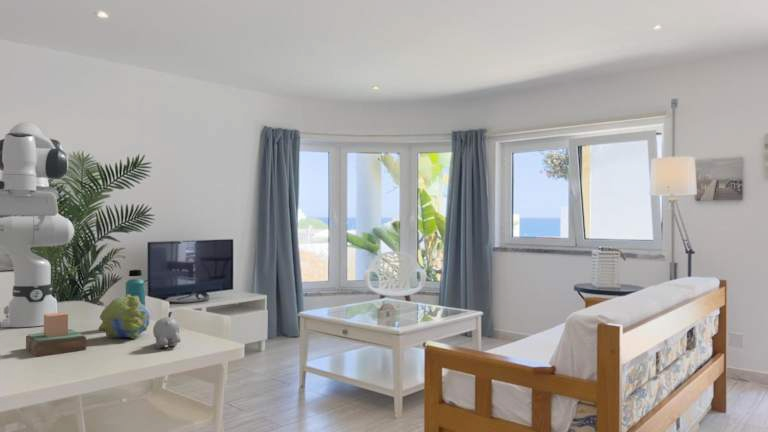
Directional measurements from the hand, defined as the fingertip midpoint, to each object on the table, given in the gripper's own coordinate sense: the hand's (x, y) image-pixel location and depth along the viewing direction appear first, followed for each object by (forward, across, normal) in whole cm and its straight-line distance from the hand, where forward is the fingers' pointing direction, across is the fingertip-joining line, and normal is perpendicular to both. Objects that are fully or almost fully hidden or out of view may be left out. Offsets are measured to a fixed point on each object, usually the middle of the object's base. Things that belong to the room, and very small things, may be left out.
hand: (19, 230), depth 166 cm
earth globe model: (+34, -26, +16) cm, 46 cm away
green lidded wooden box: (+34, -6, +18) cm, 39 cm away
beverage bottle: (+34, -35, -2) cm, 49 cm away
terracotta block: (+30, -6, +18) cm, 36 cm away
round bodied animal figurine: (+34, -30, +36) cm, 58 cm away
